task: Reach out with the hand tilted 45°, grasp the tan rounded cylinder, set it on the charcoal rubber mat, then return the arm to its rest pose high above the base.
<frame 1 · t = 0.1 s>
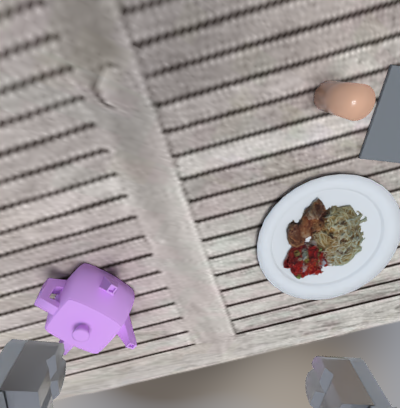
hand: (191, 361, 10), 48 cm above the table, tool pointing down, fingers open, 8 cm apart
teakettle: (100, 290, 68), on the table
plated food: (324, 238, 66), on the table
tan rounded cylinder: (328, 96, 53), on the table
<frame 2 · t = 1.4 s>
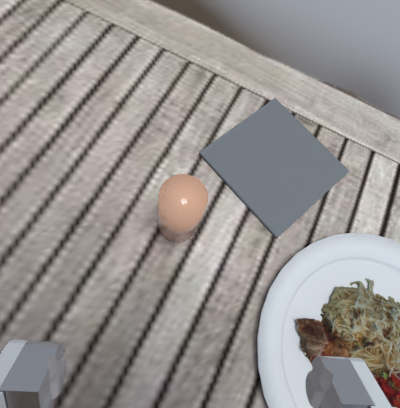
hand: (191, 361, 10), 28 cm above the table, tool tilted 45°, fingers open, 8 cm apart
mat: (274, 163, 45), on the table
plated food: (368, 352, 39), on the table
tan rounded cylinder: (177, 223, 40), on the table
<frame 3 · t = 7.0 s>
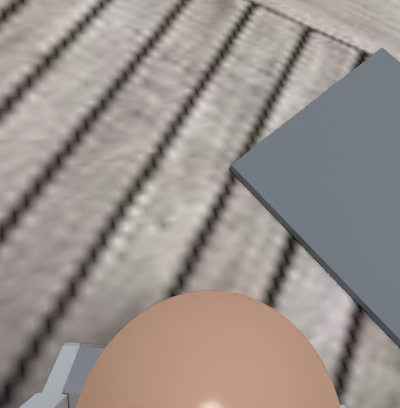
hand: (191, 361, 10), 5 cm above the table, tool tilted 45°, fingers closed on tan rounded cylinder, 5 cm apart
tan rounded cylinder: (180, 361, 15), on the table, touching gripper
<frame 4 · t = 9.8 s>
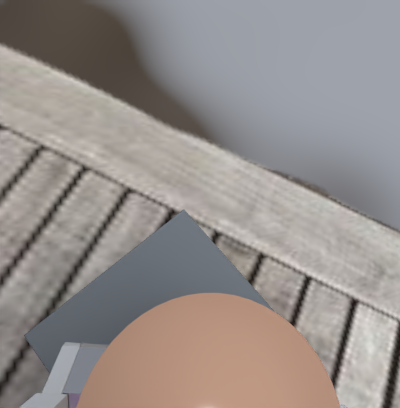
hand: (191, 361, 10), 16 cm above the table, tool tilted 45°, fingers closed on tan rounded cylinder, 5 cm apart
mat: (172, 343, 25), on the table
tan rounded cylinder: (180, 362, 15), point 11 cm above the table, touching gripper
when the fingers open (7 cm above the table, at t = 12.7 s): tan rounded cylinder stays where it is, resting on mat.
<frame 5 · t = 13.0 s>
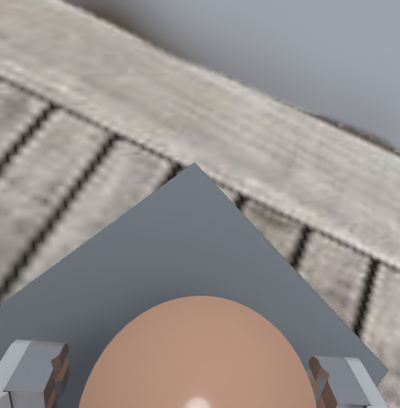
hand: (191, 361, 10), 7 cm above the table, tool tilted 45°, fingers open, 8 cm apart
mat: (179, 357, 16), on the table
tan rounded cylinder: (178, 360, 16), point 1 cm above the table, touching mat
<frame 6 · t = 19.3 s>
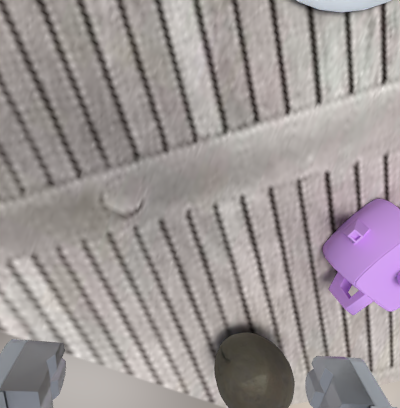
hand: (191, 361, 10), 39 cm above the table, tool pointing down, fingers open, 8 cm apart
teakettle: (366, 235, 55), on the table
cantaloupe: (245, 339, 64), on the table
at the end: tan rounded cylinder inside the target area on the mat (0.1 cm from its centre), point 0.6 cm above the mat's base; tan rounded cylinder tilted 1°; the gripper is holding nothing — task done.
